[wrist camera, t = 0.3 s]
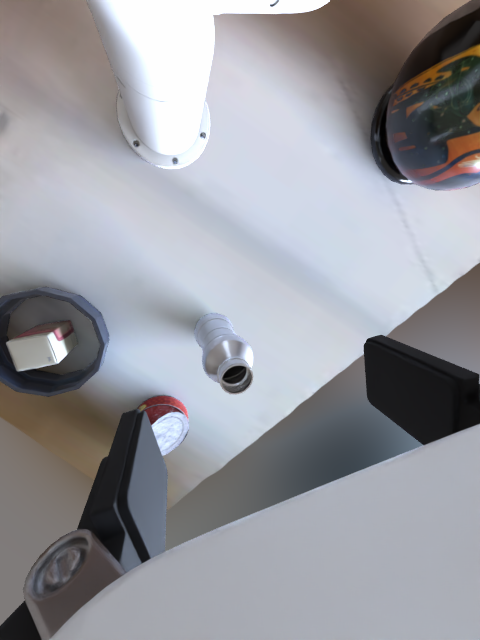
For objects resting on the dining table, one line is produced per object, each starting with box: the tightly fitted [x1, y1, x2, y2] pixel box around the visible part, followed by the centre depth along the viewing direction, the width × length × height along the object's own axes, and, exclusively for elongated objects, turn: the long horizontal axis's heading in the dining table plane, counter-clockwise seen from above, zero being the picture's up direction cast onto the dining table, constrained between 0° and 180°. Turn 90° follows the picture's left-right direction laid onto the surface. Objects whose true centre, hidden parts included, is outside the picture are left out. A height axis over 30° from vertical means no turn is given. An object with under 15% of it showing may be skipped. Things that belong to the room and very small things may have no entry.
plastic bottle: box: [194, 313, 253, 394], centre depth 38 cm, size 6×7×20 cm
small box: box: [6, 320, 78, 371], centre depth 38 cm, size 5×4×8 cm
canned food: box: [137, 396, 189, 455], centre depth 46 cm, size 11×10×10 cm
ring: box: [0, 287, 109, 397], centre depth 39 cm, size 15×15×5 cm
